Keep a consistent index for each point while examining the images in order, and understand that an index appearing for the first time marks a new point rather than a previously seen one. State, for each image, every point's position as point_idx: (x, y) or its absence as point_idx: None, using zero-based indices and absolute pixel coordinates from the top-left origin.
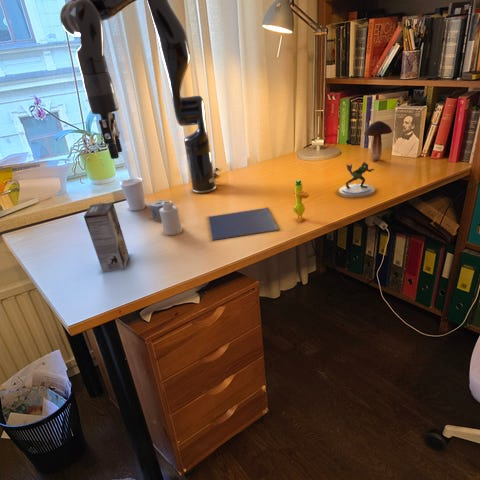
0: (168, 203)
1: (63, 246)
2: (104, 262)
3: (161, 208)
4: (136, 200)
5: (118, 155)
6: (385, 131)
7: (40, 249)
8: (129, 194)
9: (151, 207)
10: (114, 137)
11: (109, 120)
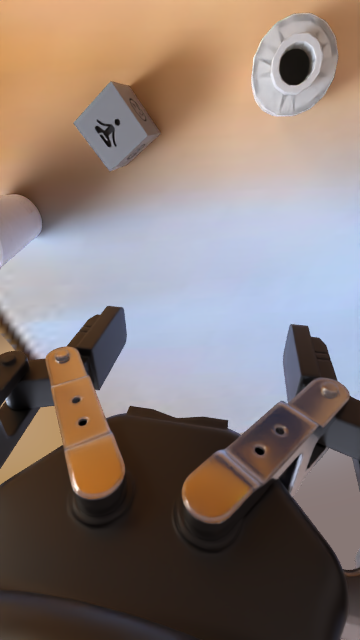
0: (318, 54)
1: (228, 373)
2: None
3: (269, 105)
4: (25, 221)
5: (302, 329)
6: None
7: (221, 408)
8: (18, 244)
9: (119, 163)
10: (303, 407)
11: (328, 577)
